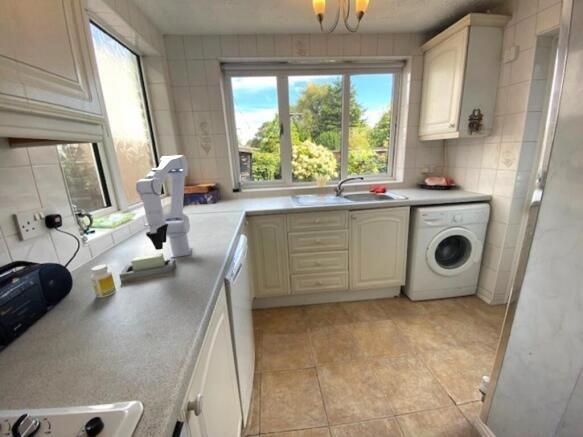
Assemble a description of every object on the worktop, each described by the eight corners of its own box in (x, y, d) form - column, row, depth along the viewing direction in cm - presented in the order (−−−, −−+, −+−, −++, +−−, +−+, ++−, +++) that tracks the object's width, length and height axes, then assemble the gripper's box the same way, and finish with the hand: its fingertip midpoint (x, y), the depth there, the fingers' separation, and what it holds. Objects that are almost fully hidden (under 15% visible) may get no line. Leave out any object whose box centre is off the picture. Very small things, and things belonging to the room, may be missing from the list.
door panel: (137, 272, 95) (133, 257, 94) (165, 267, 98) (162, 253, 96) (134, 276, 93) (131, 261, 91) (164, 270, 95) (161, 256, 94)
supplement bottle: (92, 299, 80) (84, 271, 78) (103, 290, 86) (95, 264, 83) (110, 297, 81) (102, 270, 78) (119, 288, 86) (112, 262, 84)
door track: (128, 273, 97) (126, 265, 96) (176, 265, 101) (174, 257, 100) (121, 283, 89) (119, 274, 89) (173, 274, 94) (171, 266, 93)
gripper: (147, 208, 99) (154, 241, 103) (136, 217, 86) (145, 254, 89) (166, 206, 101) (172, 238, 104) (159, 214, 87) (166, 251, 91)
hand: (161, 245), depth 97 cm, fingers open, 7 cm apart
